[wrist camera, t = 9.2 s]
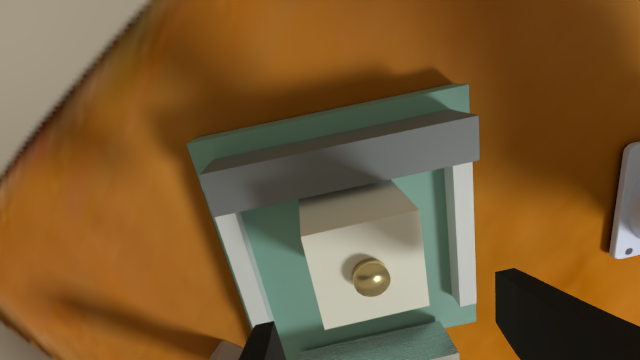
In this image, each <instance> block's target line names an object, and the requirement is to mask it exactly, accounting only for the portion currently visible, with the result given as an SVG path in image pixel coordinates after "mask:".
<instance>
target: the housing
mask: <svg viewBox="0 0 640 360" xmlns="http://www.w3.org/2000/svg"><path fill="white" fill-rule="evenodd" d="M299 217H300V235H301V241H302V244H303V248H304V252H305V256H306V260H307V264H308V267H309V271H310V275H311V279H312V283H313V287H314V291H315V294H316V298H317V302H318V306H319V310H320V314H321V317H322V321H323V325H324V329H325V330H327V329H331V328H335V327H340V326H344V325H348V324H353V323H357V322H361V321H365V320H370V319H374V318H378V317H383V316H387V315H391V314H396V313H400V312H404V311H409V310H413V309H417V308H422V307H426V306H430V304H429V294H428V285H427V275H426V266H425V257H424V247H423V238H422V229H421V219H420V210H419V209H418V208H417V207H416V206H415V205H414V204H413V203H412V201H411V200H410V199H409V198H408V197H407V196H406V195H405V194H404V193H403V192H402V191H401V190H400V189H399V188H398V187H397V186H396V184H395V183H394V182H393V181H392V180H391V179H390V180H386V181H381V182H376V183H372V184H367V185H362V186H358V187H353V188H349V189H344V190H339V191H335V192H330V193H325V194H321V195H316V196H311V197H307V198H302V199H299Z"/></svg>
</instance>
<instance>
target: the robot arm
mask: <svg viewBox="0 0 640 360" xmlns="http://www.w3.org/2000/svg"><path fill="white" fill-rule="evenodd" d="M609 254H610V256H612V257H614V258H616V259H622V258H627V257H631V256H636V255H640V141H639V142H634V143H631V144H629V145H628V146H626V148H625V149H624V152H623V158H622V165H621V172H620V179H619V186H618V193H617V201H616V208H615V215H614V222H613V229H612V236H611V243H610V250H609ZM495 293H496V323H497V325H498V326H499V328H500V330H501V331H502V333H503V334H504V336H505V338H506V339H507V341H508V342H509V344H510V345H511V347H512V348H513V350H514V351H515V353H516V354H517V356H518V357H519V358H520V359H521V360H640V327H639V326H637V325H635V324H632V323H630V322H628V321H625V320H623V319H621V318H619V317H616V316H614V315H612V314H610V313H607V312H605V311H603V310H601V309H599V308H597V307H594V306H592V305H590V304H588V303H586V302H584V301H582V300H580V299H578V298H575V297H573V296H571V295H569V294H567V293H565V292H563V291H561V290H559V289H557V288H555V287H553V286H551V285H549V284H547V283H545V282H543V281H541V280H538V279H536V278H534V277H532V276H530V275H528V274H526V273H524V272H522V271H519V270H517V269H515V268H512V269H508V270H503V271H499V272H495ZM238 360H286V357H285V354H284V350H283V347H282V344H281V341H280V338H279V334H278V331H277V328H276V325H275V322H274V321H271V322H267V323H262V324H257V325H255V326H254V328H253V329H252V331H251V334H250V336H249V338H248V340H247V342H246V344H245V347H244V349H243V351H242V353H241V355H240V357H239V359H238Z"/></svg>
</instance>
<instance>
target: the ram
mask: <svg viewBox="0 0 640 360" xmlns="http://www.w3.org/2000/svg"><path fill="white" fill-rule="evenodd" d="M300 360H459V352H458V350H457V349H456V347H455V345H454V344H453V342H452V340H451V339H450V337H449V335H448V334H447V332H446V330H445V329H444V327H443V325H442V324H441V322H440V321H436V322H432V323H427V324H423V325H418V326H414V327H409V328H405V329H400V330H396V331H391V332H387V333H382V334H378V335H374V336H369V337H365V338H360V339H356V340H351V341H347V342H342V343H338V344H333V345H329V346H325V347H320V348H316V349H311V350H307V351H302V352H300Z"/></svg>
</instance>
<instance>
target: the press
mask: <svg viewBox="0 0 640 360" xmlns="http://www.w3.org/2000/svg"><path fill="white" fill-rule="evenodd" d="M186 145H187V148H188V151H189V153H190V156H191V159H192V162H193V165H194V168H195V171H196V173H197V176H198V179H199V182H200V185H201V188H202V191H203V193H204V196H205V199H206V202H207V205H208V208H209V211H210V213H211V216H212V219H213V222H214V225H215V228H216V230H217V233H218V236H219V239H220V242H221V245H222V248H223V250H224V253H225V256H226V259H227V262H228V265H229V268H230V270H231V273H232V276H233V279H234V282H235V285H236V288H237V290H238V293H239V296H240V299H241V302H242V305H243V308H244V310H245V313H246V316H247V319H248V322H249V325H250V328H251V330H252V329H253V328H254V326H255V325H257V324H262V323H267V322H271V321H274V322H275V325H276V328H277V331H278V334H279V338H280V341H281V344H282V347H283V350H284V354H285V357H286V360H300V352H302V351H307V350H311V349H316V348H320V347H325V346H329V345H333V344H338V343H342V342H347V341H351V340H356V339H360V338H365V337H369V336H374V335H378V334H382V333H387V332H391V331H396V330H400V329H405V328H409V327H414V326H418V325H423V324H427V323H432V322H436V321H440V322H441V324H442V325H443V327H444V328H449V327H453V326H457V325H462V324H466V323H471V322H475V321H476V303H477V301H476V267H475V233H474V199H473V165H472V162H474V161H478V160H480V149H479V115H475V114H470V100H469V84H449V85H444V86H440V87H435V88H430V89H425V90H421V91H416V92H411V93H406V94H402V95H397V96H392V97H387V98H383V99H378V100H373V101H368V102H364V103H359V104H354V105H349V106H345V107H340V108H335V109H330V110H326V111H321V112H316V113H311V114H307V115H302V116H297V117H293V118H288V119H283V120H278V121H274V122H269V123H264V124H259V125H255V126H250V127H245V128H240V129H236V130H231V131H226V132H221V133H217V134H212V135H207V136H202V137H198V138H195V139H193V140H192V141H190V142H189V143H187V144H186ZM390 179H391V180H392V181H393V182H394V183H395V184H396V186H397V187H398V188H399V189H400V190H401V191H402V192H403V193H404V194H405V195H406V196H407V197H408V198H409V199H410V200H411V201H412V203H413V204H414V205H415V206H416V207H417V208H418V209H419V210H420V219H421V229H422V238H423V247H424V257H425V266H426V275H427V285H428V294H429V304H430V306H426V307H422V308H417V309H413V310H409V311H404V312H400V313H396V314H391V315H387V316H383V317H378V318H374V319H370V320H365V321H361V322H357V323H353V324H348V325H344V326H340V327H335V328H331V329H327V330H325V329H324V325H323V321H322V317H321V314H320V310H319V306H318V302H317V298H316V294H315V291H314V287H313V283H312V279H311V275H310V271H309V267H308V264H307V260H306V256H305V252H304V248H303V244H302V241H301V235H300V217H299V199H302V198H307V197H311V196H316V195H321V194H325V193H330V192H335V191H339V190H344V189H349V188H353V187H358V186H362V185H367V184H372V183H376V182H381V181H386V180H390Z"/></svg>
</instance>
